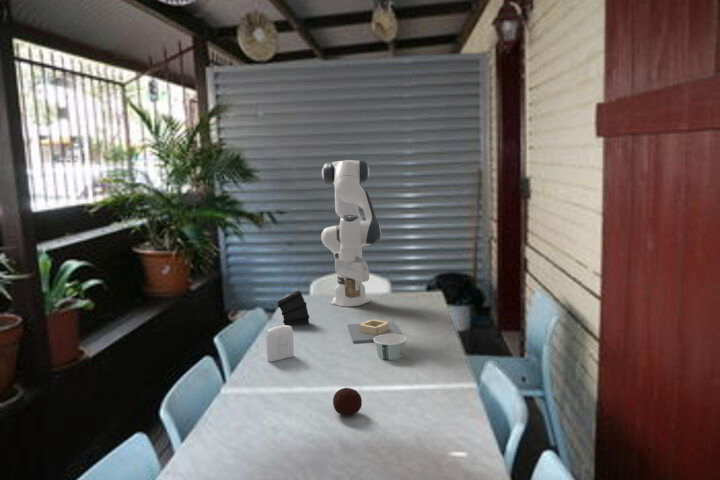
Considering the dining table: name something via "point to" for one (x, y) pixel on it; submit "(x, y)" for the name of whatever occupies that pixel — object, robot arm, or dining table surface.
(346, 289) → the block
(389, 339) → the food container
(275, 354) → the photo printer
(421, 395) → the dining table surface
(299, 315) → the black ridged flat block
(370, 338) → the mount plate
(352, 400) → the brown ball
